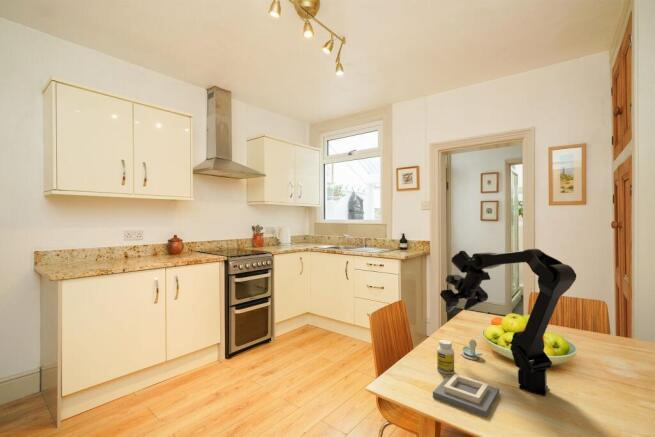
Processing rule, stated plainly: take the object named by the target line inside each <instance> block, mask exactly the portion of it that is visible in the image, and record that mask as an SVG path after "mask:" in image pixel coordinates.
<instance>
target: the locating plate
mask: <svg viewBox="0 0 655 437" xmlns="http://www.w3.org/2000/svg"><path fill="white" fill-rule="evenodd" d="M499 396H500V388H498V387H495V386H492V385H489V384H488V383H487V382H483V381H480V380H476V379H474V378H470V377H466V376H464V375H460V374H458V373H452V374H451V373H450V374H447V376H446V377H445V378H444V380H443V381H442V382H441V383H440V384H439V385H438V386H436V388H435V389H434V390H433V391H432V398H434V399H438V400H440V401H442V402H445V403H447V404H450V405H453V406H455V407H458V408H461V409H463V410H466V411H468V412H471V413H474V414H477V415H479V416H482V417H485V418H487V416H488V414H489V413H490V411H491V409H492V407H493V406H494V404H495V403H496V400H497V399H498V397H499Z"/></svg>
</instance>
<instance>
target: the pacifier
mask: <svg viewBox="0 0 655 437" xmlns="http://www.w3.org/2000/svg"><path fill="white" fill-rule="evenodd" d="M477 344H478V343H477V340H475V339H473V338H471V339H470V340H469V341H468V345H469V346H467V345H464V346H463V347H462V352H460V355H462V357H463V358H466V359H468V360H472V361H473V360H474V361H475V360H477V359H478V356H483V353H481V352H480V353H479V352H476V348H477Z"/></svg>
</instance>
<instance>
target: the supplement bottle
mask: <svg viewBox="0 0 655 437" xmlns="http://www.w3.org/2000/svg"><path fill="white" fill-rule="evenodd" d="M438 344H439V346H438V347H437V349H436V351H437V352H436V360H437V361H436V365H437V367H436V368H437V370H438V372H439V373H440V374H445V375H449V374H450V373H451V374H455V373H454V372H455V350H454V348H453V347H452V346H453V342H452V341H451V340H449V339H440V340H438Z"/></svg>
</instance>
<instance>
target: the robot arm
mask: <svg viewBox="0 0 655 437" xmlns="http://www.w3.org/2000/svg"><path fill="white" fill-rule="evenodd" d="M471 255H472V256H470V255H469V254H468V253H467V252H466V250H459V252H458V253H456V254H455V255H453V256H452V257H451V260H450V261H451V263H452V264H453V265H454V266H455V267H456V268H457V269H458V270H459V272H461V273H463V274H465V273H466V274H465V275H464V277H463V276H462V275H459V274H448V275H447V276H446V279H445V282H446V283H447V284H448V285H451V286H454V289H455V291H457V292H456V293H455V292H454V291H453V290H452V289H442V290H441V291H440V294H439V296H440V297H441V299H443V301H444V302H445V312H446V313H447V314H448V313H450V312H451V311H452V310H454V309H455V308H456V307H457V306H458V304H459V302H460V300H466V302H465V304H464V306H463V309H464V310H465V311H467V310H469V309H471V308H473V307H475V306H477V305H480V304H482V303H484V302H487V300H488V298H489V294H488V292H487V291H485V290H484V289H483V288H482V287H481V286H480V285H481V284H482V282H483V281H491V276H490V275H489V272H488V271H485V270H488V269H495V268H497V267H500V266H502V265H508V264H519V263H520V264H521V263H526V264H527V265H528V266H529V268H530V270H531V271H532V273H534V274H535V275H536V276H537V285H538V289H539V292H538V294H537V297H536V298H535V302H534V304H533V307H532V309H531V312H530V313H529V314H530V315H529V316H528V320H527V322H526V324H525V327H524V329H523V331H515V332H514V333H513V334H512V339H511V340H510V341H509V344H510V351H511V354H512V355H511V356H512V357H513V361H514V363H515V367H516V368H518V369H517V383H518V384H519V385H518V388H519V389H520V390H523V391H526V392H531V393H534V394H537V395H540V396H543V397H545V396H547V392H548V388H549V386H548V385H547V369H551V368H552V366H553V362H552V360H551V359H550V357H549V356H548V354H546V352H545V343H544V342H545V341H544V335H545V333H546V330H547V328H548V326H549V323H550V321H551V319H552V317H553V314H554V312H555V309H556V307H557V305H558V303H559V299H560V297H562V296H563V294H565V293H566V292H567V291H569V290H570V288H571V287H572V286H573V285H574V283H575V281H576V280H577V273H576V272H575V270H574V269H573V267H572V266H571V265H568V264H566V263H565V264H564V263H563V262H562V261H560V260H559V259H557V258H554V257H553V256H550V255H548V254H546V253H545V252H544V251H542V250H540V249H538V248H528V249H527V248H526V249H523V250H517V251H510V252H509V251H508V252H500V253H498V252H477V253H473V254H471Z"/></svg>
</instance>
